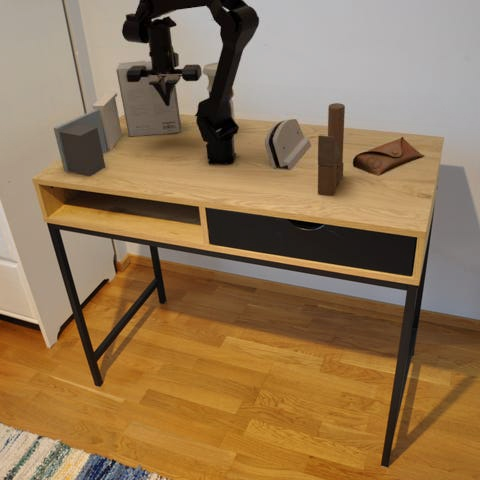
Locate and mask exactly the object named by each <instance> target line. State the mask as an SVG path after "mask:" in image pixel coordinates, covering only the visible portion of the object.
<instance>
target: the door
mask: <svg viewBox="0 0 480 480" xmlns="http://www.w3.org/2000/svg"><path fill="white" fill-rule="evenodd" d="M76 124H80V125H86V126H92V127H97V128H98V133H99V138H100V143H101V148H102V153H103V154H105V153H108V152H109V150H108V146H107V141H106V136H105V131H104V126H103V121H102V116H101V111H100V109H95V110H94V109H93V110H91V111H89V112H86V113H83V114H81V115H79V116H77V117H75V118H72V119H71V120H68V121H66V122H64V123H61V124H59V125H57V126H55V127H53V131H54V136H55V139H56V140H55V141H56V144H57V148H58V151H59V156H60V160H61V164H62V168H63V171H64V172H65V173H69V172H70V171H69V167H68V163H67V158H66V154H65V150H64V146H63V142H62V138H61V134H60V132H61V131H63V130H65V129H67V128H69V127H72V126H74V125H76ZM64 172H63V173H64Z"/></svg>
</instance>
